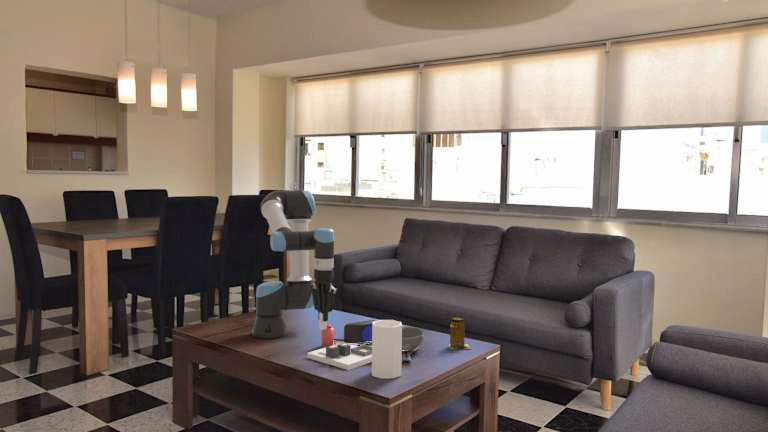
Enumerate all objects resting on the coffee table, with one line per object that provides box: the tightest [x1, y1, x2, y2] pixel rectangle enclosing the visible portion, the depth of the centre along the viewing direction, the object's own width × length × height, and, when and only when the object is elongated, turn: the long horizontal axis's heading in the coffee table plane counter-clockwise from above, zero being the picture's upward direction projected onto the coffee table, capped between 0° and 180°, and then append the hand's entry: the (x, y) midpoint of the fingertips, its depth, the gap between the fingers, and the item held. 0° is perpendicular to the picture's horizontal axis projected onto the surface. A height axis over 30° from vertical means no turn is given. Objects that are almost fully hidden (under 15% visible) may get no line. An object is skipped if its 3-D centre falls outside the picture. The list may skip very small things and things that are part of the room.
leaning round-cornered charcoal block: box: [343, 319, 377, 343], centre depth 241 cm, size 16×5×9 cm, turn 124°
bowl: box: [402, 326, 425, 352], centre depth 233 cm, size 18×18×8 cm
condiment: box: [448, 317, 471, 350], centre depth 238 cm, size 7×8×12 cm
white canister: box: [371, 319, 403, 380], centre depth 203 cm, size 11×11×18 cm
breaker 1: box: [326, 346, 339, 358], centre depth 216 cm, size 4×3×4 cm
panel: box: [306, 341, 372, 371], centre depth 222 cm, size 22×20×4 cm
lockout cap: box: [321, 323, 335, 349], centre depth 236 cm, size 5×5×9 cm
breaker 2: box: [338, 344, 350, 356], centre depth 219 cm, size 4×3×4 cm
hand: (323, 328), depth 220 cm, fingers closed
